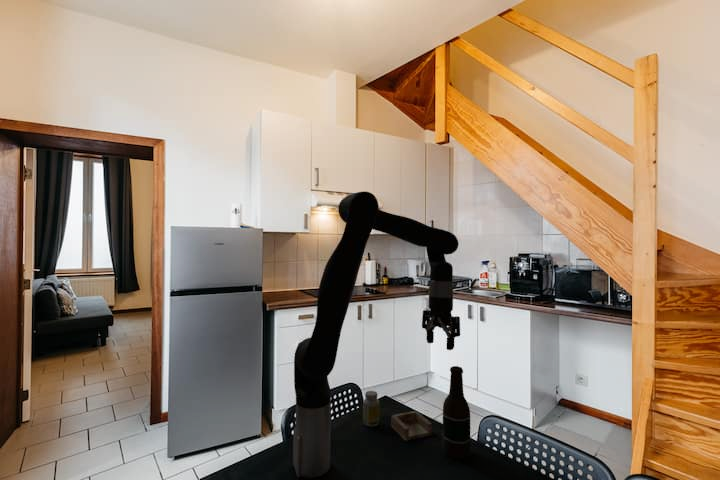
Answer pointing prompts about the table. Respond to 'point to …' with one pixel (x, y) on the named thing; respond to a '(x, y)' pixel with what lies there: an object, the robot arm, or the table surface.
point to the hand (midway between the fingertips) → (439, 346)
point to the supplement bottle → (371, 409)
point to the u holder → (411, 425)
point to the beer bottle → (456, 418)
